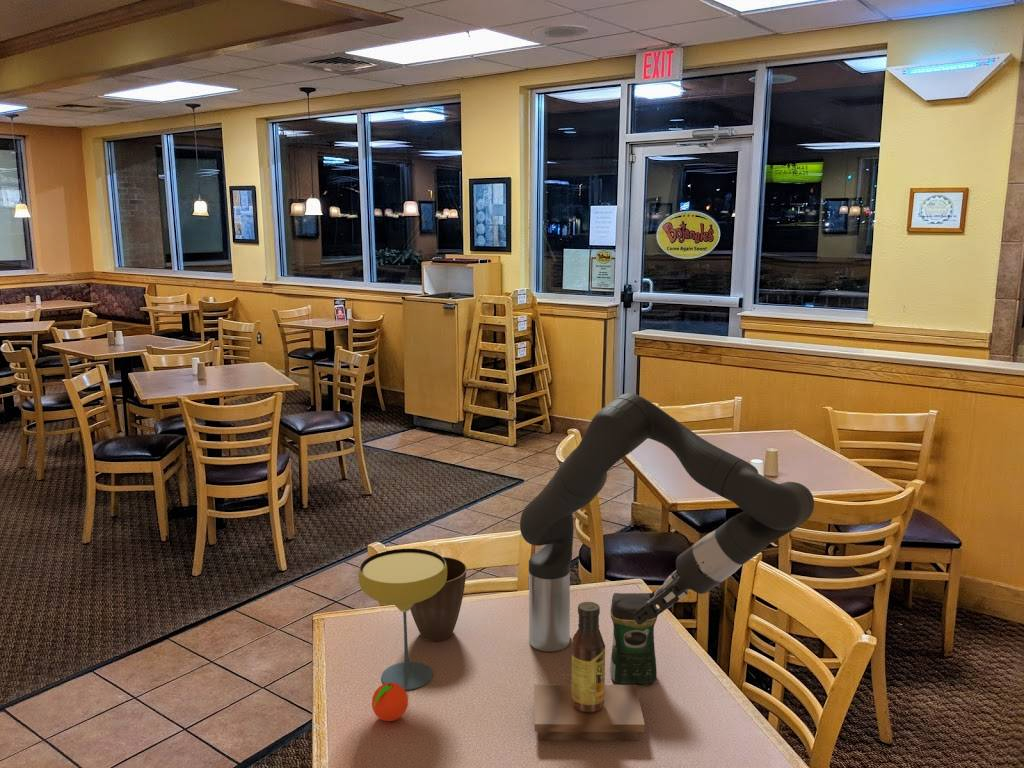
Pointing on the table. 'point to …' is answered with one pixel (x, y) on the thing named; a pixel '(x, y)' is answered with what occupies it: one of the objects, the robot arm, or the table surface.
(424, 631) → the plant pot
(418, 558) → the cocktail glass
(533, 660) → the table surface
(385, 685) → the clementine
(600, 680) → the sauce bottle
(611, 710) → the walnut shelf
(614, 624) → the coffee jar
